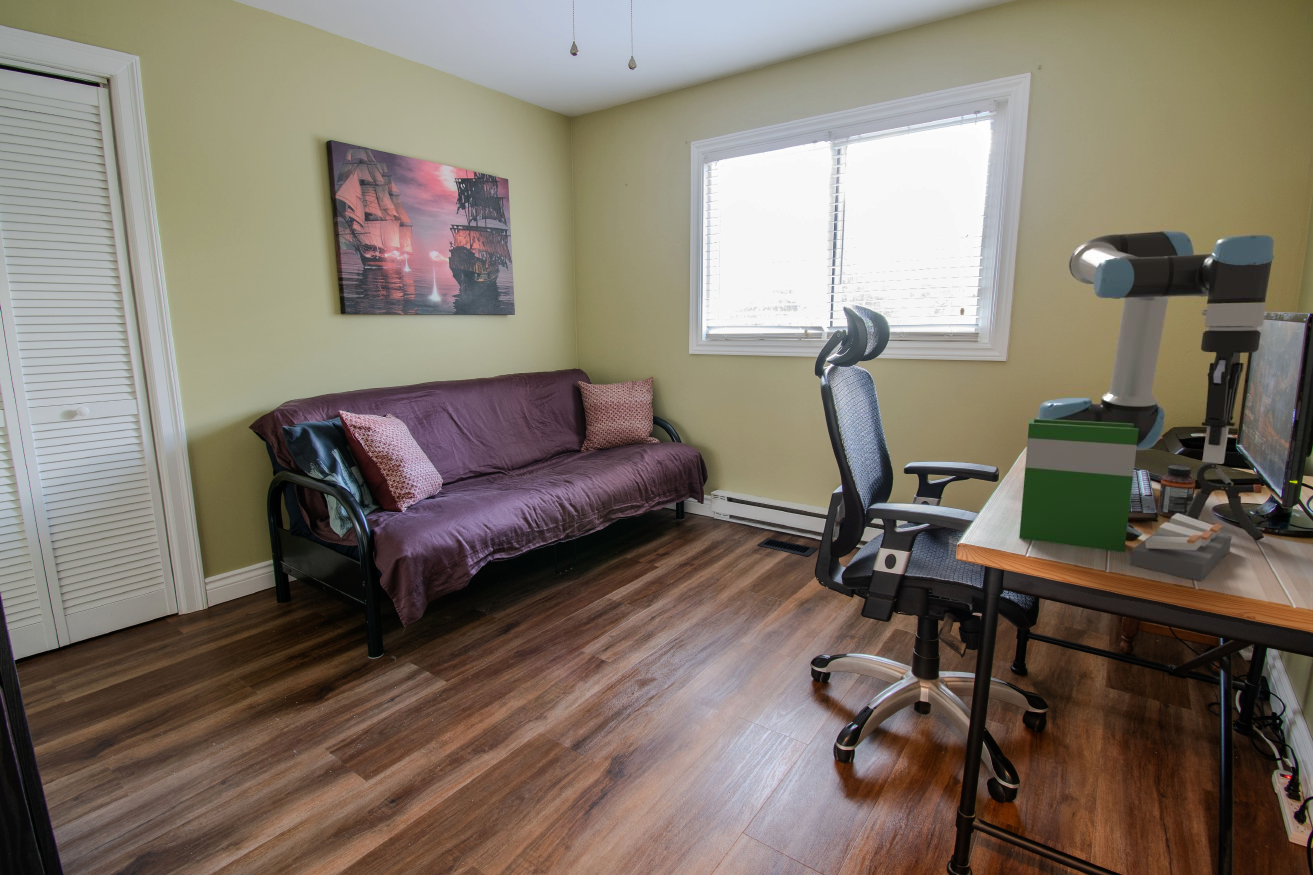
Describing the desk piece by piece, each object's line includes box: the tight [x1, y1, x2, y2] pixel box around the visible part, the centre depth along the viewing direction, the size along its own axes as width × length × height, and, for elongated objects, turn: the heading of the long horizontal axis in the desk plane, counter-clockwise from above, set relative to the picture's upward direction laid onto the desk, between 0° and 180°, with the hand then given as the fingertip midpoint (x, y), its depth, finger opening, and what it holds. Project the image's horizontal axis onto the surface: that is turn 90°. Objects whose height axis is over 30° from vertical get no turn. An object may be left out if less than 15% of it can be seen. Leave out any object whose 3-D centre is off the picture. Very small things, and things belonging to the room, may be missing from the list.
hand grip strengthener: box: [1186, 462, 1265, 542], centre depth 129 cm, size 2×12×15 cm, turn 51°
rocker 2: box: [1168, 513, 1223, 539], centre depth 123 cm, size 4×7×2 cm, turn 39°
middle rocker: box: [1156, 521, 1213, 546], centre depth 118 cm, size 4×7×2 cm, turn 39°
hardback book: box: [1018, 417, 1139, 553], centre depth 128 cm, size 18×7×24 cm, turn 60°
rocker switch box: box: [1130, 530, 1233, 582], centre depth 121 cm, size 27×10×3 cm, turn 129°
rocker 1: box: [1145, 535, 1202, 550], centre depth 114 cm, size 4×7×2 cm, turn 39°
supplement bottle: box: [1157, 464, 1196, 519], centre depth 144 cm, size 6×6×11 cm
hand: (1212, 461), depth 115 cm, fingers closed
